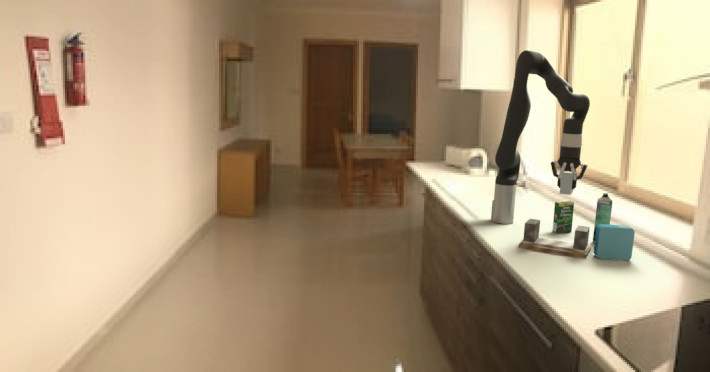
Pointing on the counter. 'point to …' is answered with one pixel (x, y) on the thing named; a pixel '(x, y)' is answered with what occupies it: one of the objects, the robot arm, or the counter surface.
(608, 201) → the spray can
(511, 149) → the robot arm
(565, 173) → the block
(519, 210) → the counter surface
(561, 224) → the coffee box
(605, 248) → the blue rounded block
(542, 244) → the wooden block stand
